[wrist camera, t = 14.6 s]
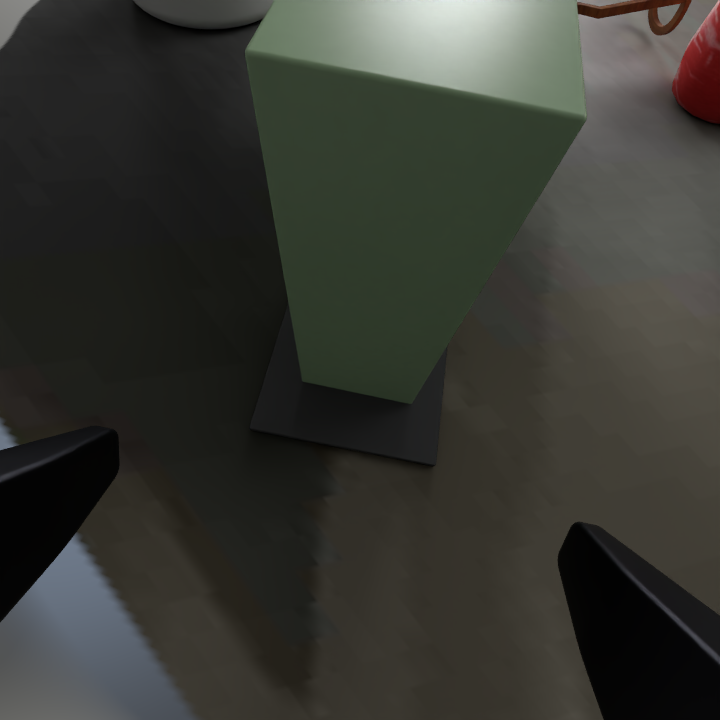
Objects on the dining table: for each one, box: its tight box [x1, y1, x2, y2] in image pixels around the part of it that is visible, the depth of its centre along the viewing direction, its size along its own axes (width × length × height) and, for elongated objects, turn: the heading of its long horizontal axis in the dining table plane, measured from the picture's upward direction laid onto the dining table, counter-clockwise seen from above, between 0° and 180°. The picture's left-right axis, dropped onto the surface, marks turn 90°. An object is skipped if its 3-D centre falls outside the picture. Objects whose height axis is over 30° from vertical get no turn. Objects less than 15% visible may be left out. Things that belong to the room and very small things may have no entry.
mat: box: [249, 302, 447, 466], centre depth 22 cm, size 26×8×1 cm, turn 170°
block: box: [245, 0, 587, 404], centre depth 12 cm, size 5×5×13 cm
